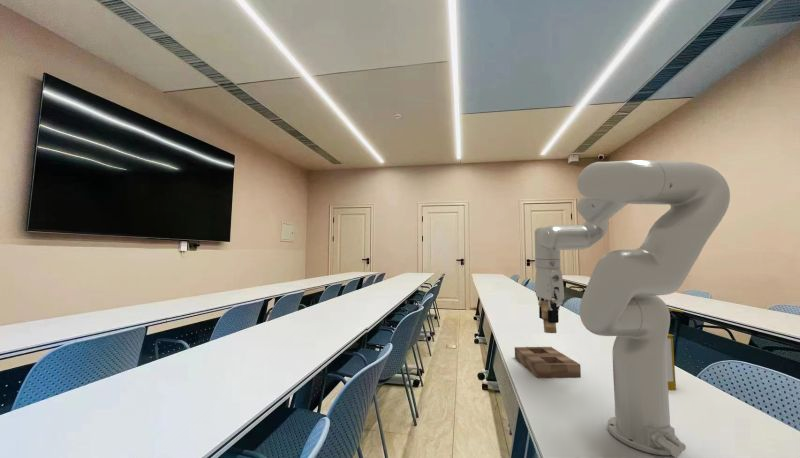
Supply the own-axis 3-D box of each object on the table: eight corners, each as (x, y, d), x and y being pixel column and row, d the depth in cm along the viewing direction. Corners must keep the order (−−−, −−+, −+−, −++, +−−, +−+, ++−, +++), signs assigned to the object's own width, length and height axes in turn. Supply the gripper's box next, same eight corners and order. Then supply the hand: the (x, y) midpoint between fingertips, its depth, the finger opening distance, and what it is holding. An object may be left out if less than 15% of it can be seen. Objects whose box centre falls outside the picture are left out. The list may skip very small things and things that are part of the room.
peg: (560, 333, 97) (557, 301, 98) (547, 333, 96) (544, 301, 98) (553, 331, 101) (550, 300, 103) (540, 331, 101) (538, 300, 102)
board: (580, 377, 98) (580, 364, 98) (537, 378, 97) (537, 365, 97) (551, 357, 116) (550, 346, 116) (514, 358, 115) (514, 347, 115)
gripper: (574, 266, 92) (575, 327, 91) (545, 262, 109) (546, 314, 108) (550, 266, 92) (551, 328, 91) (524, 262, 109) (525, 314, 108)
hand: (548, 319), depth 100 cm, fingers closed on peg, 4 cm apart
